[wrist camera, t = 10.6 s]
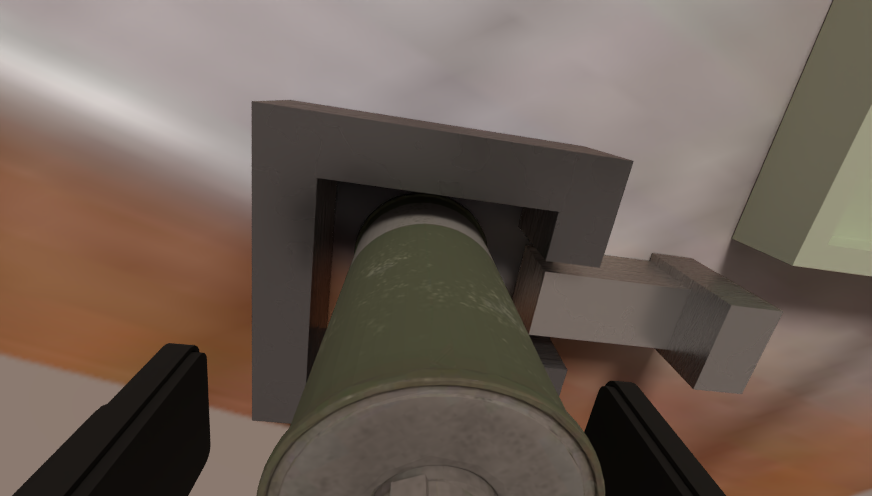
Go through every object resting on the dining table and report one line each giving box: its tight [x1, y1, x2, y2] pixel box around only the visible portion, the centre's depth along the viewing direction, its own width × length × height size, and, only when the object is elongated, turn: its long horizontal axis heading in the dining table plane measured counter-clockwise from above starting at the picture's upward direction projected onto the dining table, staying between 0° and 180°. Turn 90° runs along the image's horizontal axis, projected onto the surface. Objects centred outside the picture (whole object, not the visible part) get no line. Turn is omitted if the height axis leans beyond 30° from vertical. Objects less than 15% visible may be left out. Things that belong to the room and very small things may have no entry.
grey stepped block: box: [512, 245, 783, 394], centre depth 17 cm, size 8×4×5 cm, turn 81°
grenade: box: [257, 193, 605, 496], centre depth 11 cm, size 6×6×15 cm
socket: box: [252, 100, 633, 424], centre depth 16 cm, size 12×12×4 cm
